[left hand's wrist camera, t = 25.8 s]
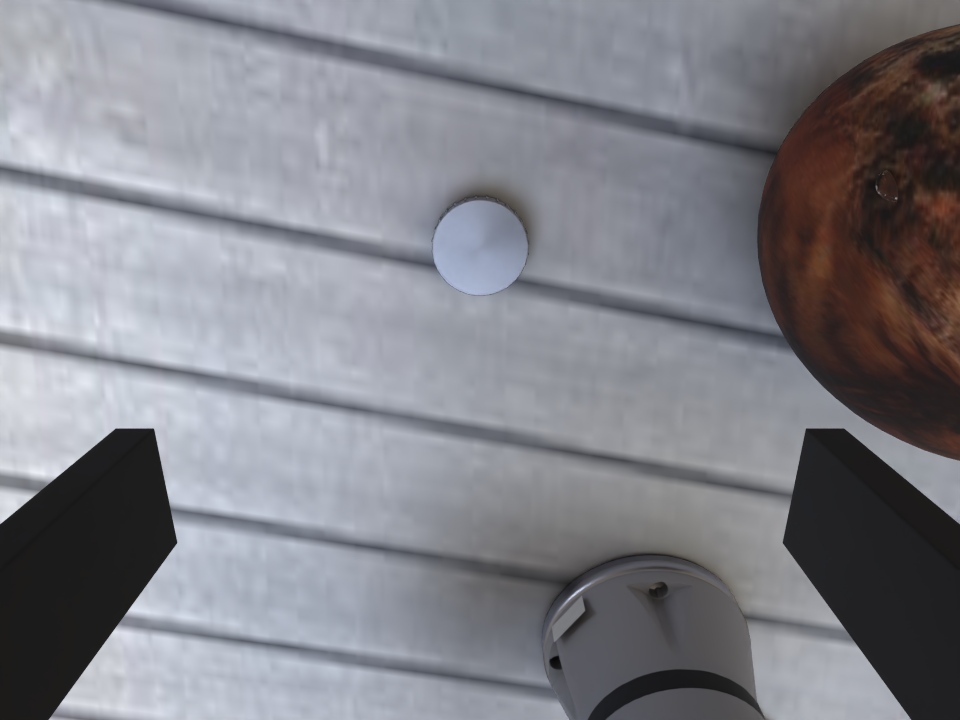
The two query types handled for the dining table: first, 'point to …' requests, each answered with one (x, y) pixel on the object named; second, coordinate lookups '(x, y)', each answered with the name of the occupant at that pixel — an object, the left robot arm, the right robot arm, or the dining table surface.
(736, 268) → the dining table surface
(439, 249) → the lid
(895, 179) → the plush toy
